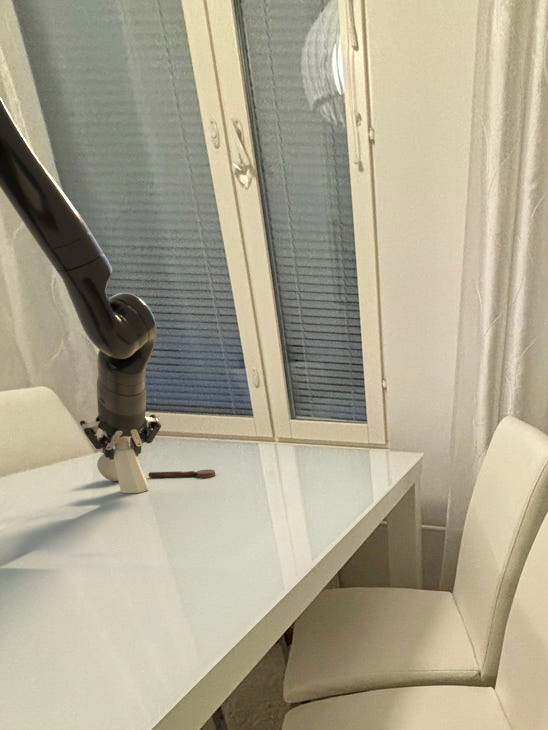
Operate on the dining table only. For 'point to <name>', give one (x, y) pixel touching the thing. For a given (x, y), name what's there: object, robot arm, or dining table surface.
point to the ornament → (107, 468)
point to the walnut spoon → (183, 474)
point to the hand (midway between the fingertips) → (121, 454)
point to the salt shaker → (128, 468)
